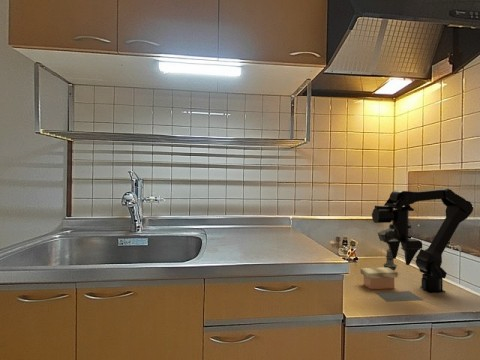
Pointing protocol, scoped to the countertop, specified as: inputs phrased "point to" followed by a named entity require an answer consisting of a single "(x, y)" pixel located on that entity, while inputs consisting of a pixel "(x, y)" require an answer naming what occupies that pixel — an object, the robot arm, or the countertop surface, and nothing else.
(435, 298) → the countertop surface
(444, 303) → the countertop surface
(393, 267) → the salt shaker
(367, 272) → the beige block on tray
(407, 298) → the mat
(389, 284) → the open box
